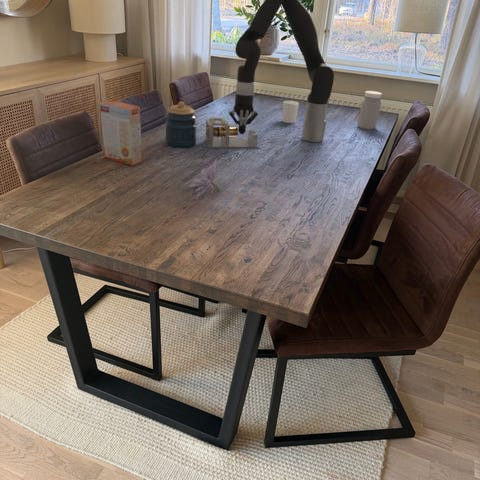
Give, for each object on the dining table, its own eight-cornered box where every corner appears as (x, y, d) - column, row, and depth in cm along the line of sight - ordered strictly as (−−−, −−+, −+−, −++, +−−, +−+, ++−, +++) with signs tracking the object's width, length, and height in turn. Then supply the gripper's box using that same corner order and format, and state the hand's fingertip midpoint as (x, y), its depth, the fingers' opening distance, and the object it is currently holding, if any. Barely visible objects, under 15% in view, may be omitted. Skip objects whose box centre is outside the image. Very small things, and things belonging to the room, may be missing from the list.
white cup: (296, 124, 228) (299, 104, 223) (281, 123, 228) (284, 103, 223) (295, 120, 235) (298, 101, 230) (280, 119, 235) (283, 99, 230)
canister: (190, 150, 182) (191, 107, 173) (161, 146, 184) (160, 103, 175) (199, 141, 193) (200, 100, 184) (171, 137, 195) (171, 96, 186)
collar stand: (252, 140, 200) (254, 117, 195) (258, 148, 191) (261, 124, 186) (204, 140, 194) (205, 117, 189) (208, 148, 185) (209, 124, 180)
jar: (373, 125, 237) (381, 91, 228) (377, 130, 228) (385, 95, 219) (355, 124, 237) (362, 89, 228) (358, 129, 229) (365, 93, 220)
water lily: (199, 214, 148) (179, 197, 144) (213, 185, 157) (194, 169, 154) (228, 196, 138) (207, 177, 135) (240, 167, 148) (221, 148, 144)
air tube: (235, 135, 193) (236, 125, 191) (237, 138, 190) (238, 128, 188) (206, 135, 190) (206, 125, 188) (207, 138, 187) (208, 128, 184)
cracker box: (143, 162, 166) (140, 106, 156) (132, 166, 162) (128, 109, 151) (115, 153, 172) (111, 99, 161) (104, 157, 167) (99, 101, 157)
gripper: (257, 91, 187) (254, 131, 196) (227, 90, 184) (225, 131, 193) (262, 95, 181) (258, 136, 190) (231, 94, 178) (228, 136, 187)
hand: (241, 133), depth 191 cm, fingers closed
